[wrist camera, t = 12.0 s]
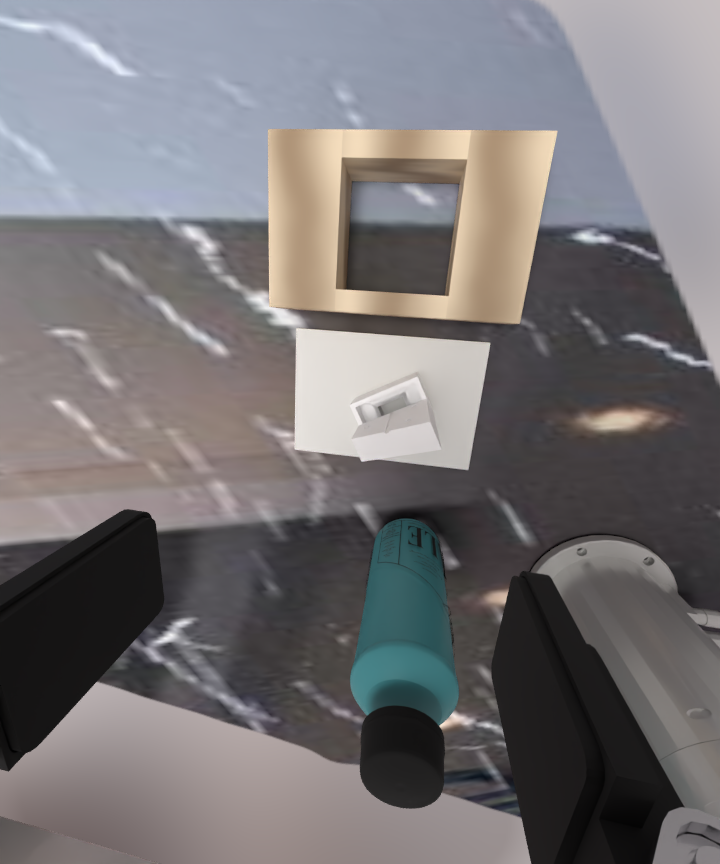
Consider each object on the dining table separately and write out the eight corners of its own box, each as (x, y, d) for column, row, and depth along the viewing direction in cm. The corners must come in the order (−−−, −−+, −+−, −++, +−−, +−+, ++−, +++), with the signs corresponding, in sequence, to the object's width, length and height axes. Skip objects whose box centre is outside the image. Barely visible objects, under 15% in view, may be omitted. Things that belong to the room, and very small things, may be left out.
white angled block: (489, 396, 27) (441, 449, 21) (388, 421, 34) (330, 466, 28) (473, 351, 26) (418, 393, 20) (373, 386, 33) (310, 424, 27)
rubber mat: (488, 342, 29) (490, 343, 28) (467, 467, 32) (468, 470, 31) (298, 328, 30) (296, 328, 30) (296, 447, 34) (294, 449, 33)
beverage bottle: (368, 555, 36) (318, 810, 17) (382, 499, 34) (342, 717, 15) (431, 572, 36) (451, 853, 17) (449, 515, 33) (495, 763, 15)
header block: (535, 160, 25) (557, 130, 21) (505, 324, 28) (519, 323, 24) (288, 156, 27) (268, 129, 23) (287, 309, 30) (269, 306, 26)
